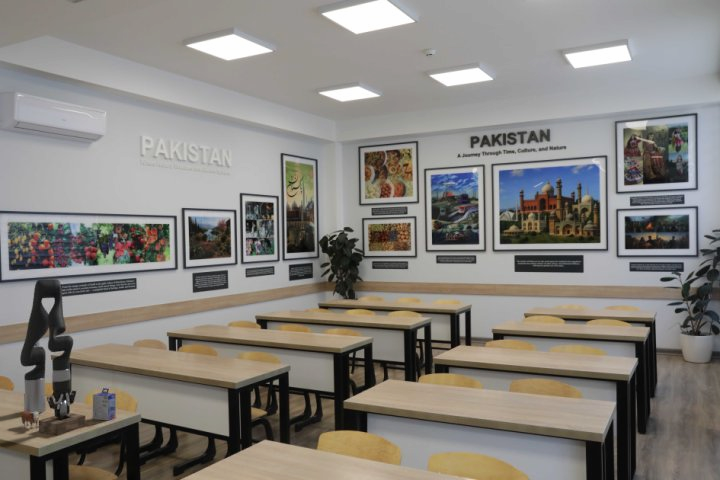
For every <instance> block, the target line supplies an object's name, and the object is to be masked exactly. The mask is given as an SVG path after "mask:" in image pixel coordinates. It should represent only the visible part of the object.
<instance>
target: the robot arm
mask: <svg viewBox="0 0 720 480" xmlns="http://www.w3.org/2000/svg"><path fill="white" fill-rule="evenodd" d="M33 289H34V291H33V298H32V306H31V311H30V315H29V319H28V324H27V329H26V334H25V339H24V343H23V346H22V348H21V351H20V356H19V358H20V364H21V366H22V367H26V368H27V367H33V366H35V367H34V368H33V369H31V370H29V371H28V372H26V373H25V374H24V393H23V400H24V402H23V403H24V404H23V407H24V410H23V411H27V412H38V413H39V412H41V413H43V412H46V408H47V407H46V401H47V403H48V406H49V409H53V410H54V416H56V417H60V409H59V407H60V404H61V401H63V400H67V414H69V413H71V411H70V406H71V405H72V404H74V402H75V398H76V395H77V390H71V370H70V368H71V367H70V357H71V353H72V350H73V348H74V347H73V345H74V339H73V337H72V336H71V335H62V334H64V333H66V331H67V327H66V322H65V317H64V310H63V291H62V283H61V282H60V280H59V279H57V278H56V279H54V278H49V279H48V278H47V279H46V278H45V279H44V278H43V279H38V280H37V281H36V282H35V284H34V288H33ZM43 299H54V302H53V305H52V307H51V309H50V310H49V313H48V311H47V309H45V307H44V305H43V301H42V300H43ZM47 332H49V336H48V342H47V349H48V351H49V352H51V353H59V352H62V354H60V355H57V356H55V357H54V358H52V374H51V376H52V377H51V381H52V383H51V387H52V394H51V395H50V396H47V397H46V362H47V361H46V359H47V358H46V357H47V356H46V355H47V354H46V350H45V348H44V346H36V347H35V345H36V344H38V342H39V341H40V340H41V339H42V338H43V337H44V336H45V335H46V334H47ZM60 335H62V336H60Z"/></svg>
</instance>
